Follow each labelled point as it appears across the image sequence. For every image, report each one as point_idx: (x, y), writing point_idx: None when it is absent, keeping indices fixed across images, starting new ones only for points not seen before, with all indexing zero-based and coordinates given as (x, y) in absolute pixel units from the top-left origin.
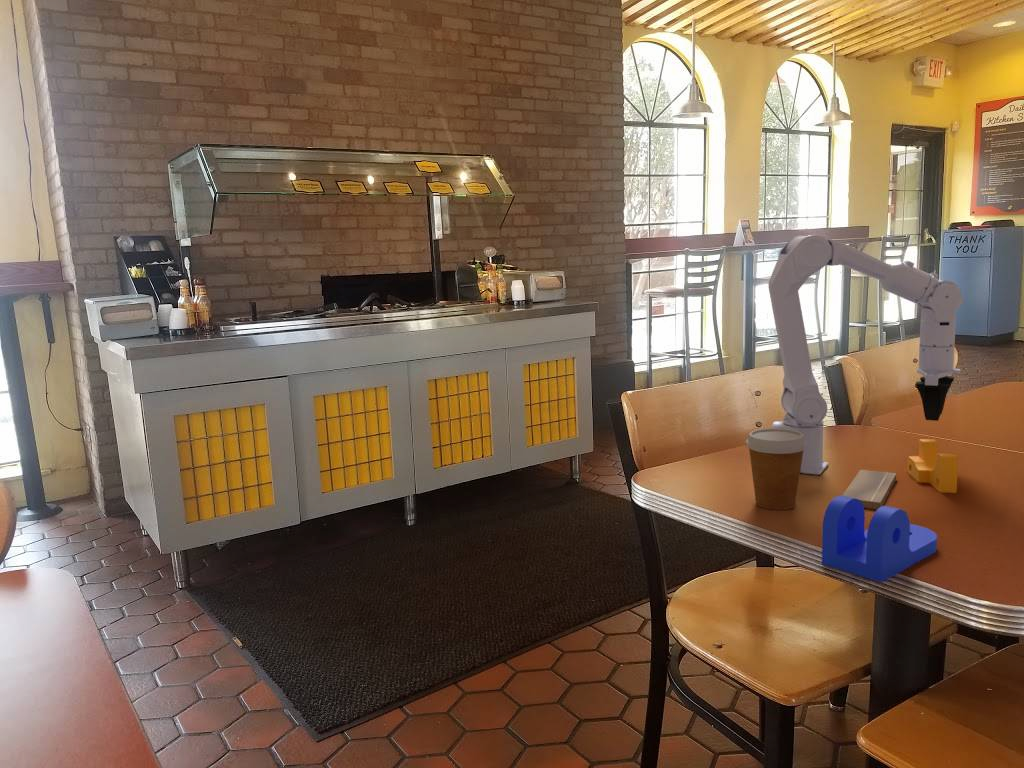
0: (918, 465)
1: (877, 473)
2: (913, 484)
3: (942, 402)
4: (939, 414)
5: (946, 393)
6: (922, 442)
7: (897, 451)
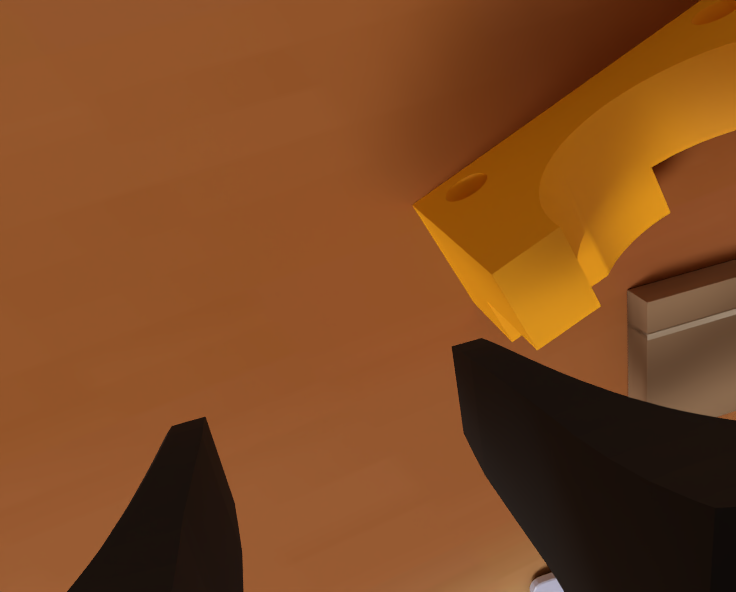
0: (617, 240)
1: (679, 362)
2: (666, 202)
3: (633, 398)
4: (521, 356)
5: (179, 563)
6: (597, 303)
7: (80, 507)
